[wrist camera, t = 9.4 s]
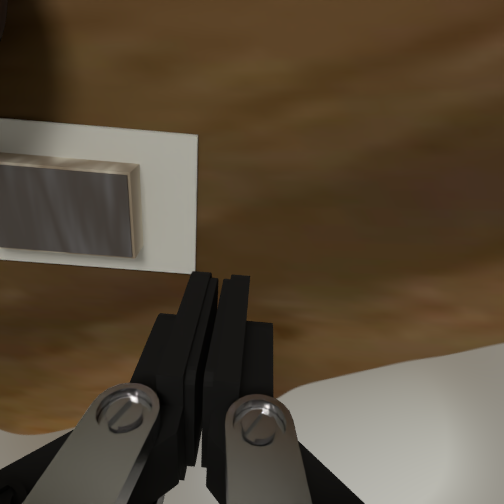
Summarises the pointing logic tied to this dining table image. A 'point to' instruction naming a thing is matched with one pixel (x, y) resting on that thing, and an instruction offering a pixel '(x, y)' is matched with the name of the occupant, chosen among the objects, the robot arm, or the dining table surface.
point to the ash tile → (70, 205)
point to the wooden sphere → (2, 16)
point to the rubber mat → (151, 180)
